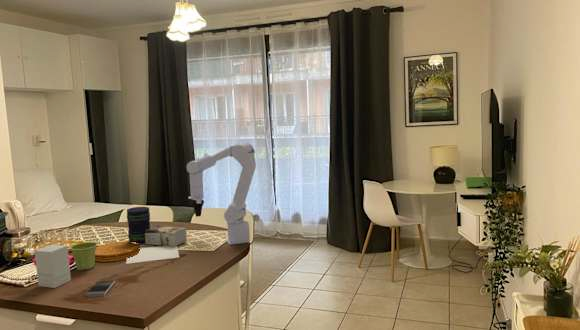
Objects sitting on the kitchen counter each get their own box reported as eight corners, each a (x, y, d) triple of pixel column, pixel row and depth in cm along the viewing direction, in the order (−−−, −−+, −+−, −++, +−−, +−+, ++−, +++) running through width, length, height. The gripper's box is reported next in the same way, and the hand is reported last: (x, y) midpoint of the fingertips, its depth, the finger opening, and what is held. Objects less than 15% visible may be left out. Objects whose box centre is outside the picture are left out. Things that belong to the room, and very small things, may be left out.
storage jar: (143, 236, 203) (140, 205, 201) (156, 240, 197) (154, 208, 196) (124, 242, 195) (121, 210, 193) (137, 245, 189) (134, 212, 188)
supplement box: (71, 280, 151) (68, 245, 149) (54, 288, 144) (50, 252, 142) (55, 278, 153) (52, 243, 152) (37, 286, 146) (33, 250, 145)
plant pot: (65, 270, 160) (63, 248, 159) (85, 262, 169) (83, 241, 168) (85, 273, 157) (83, 250, 156) (104, 264, 166) (102, 242, 165)
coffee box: (173, 232, 184) (143, 230, 190) (174, 247, 185) (144, 244, 191) (186, 227, 193) (157, 225, 199) (187, 241, 193) (158, 239, 199)
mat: (176, 245, 189) (176, 244, 189) (179, 257, 172) (179, 257, 172) (128, 250, 183) (128, 249, 183) (126, 264, 166) (125, 263, 166)
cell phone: (116, 284, 148) (115, 280, 148) (105, 297, 137) (104, 293, 137) (97, 285, 147) (97, 281, 147) (85, 298, 136) (84, 294, 136)
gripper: (186, 185, 201) (188, 213, 203) (189, 190, 188) (190, 220, 189) (201, 184, 203) (203, 212, 205) (205, 188, 190) (206, 218, 191)
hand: (198, 216), depth 197 cm, fingers closed
